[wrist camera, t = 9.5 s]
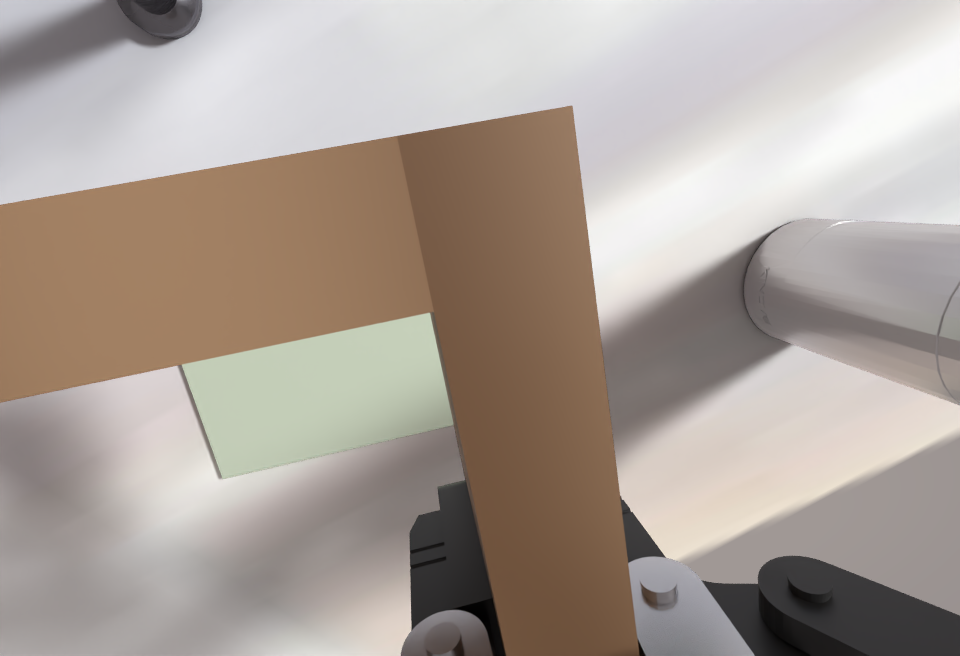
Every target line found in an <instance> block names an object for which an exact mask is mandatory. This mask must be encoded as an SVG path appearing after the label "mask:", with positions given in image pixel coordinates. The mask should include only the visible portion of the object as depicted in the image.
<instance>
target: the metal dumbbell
mask: <svg viewBox="0 0 960 656" xmlns="http://www.w3.org/2000/svg"><path fill="white" fill-rule="evenodd" d="M117 1H118V4H119V5H120V7H121V9H122V10H123V12H124V13H125V14H126V16H127V17H128V18H129V19H130V20H131V21H132V22H134V23H135V24H136V25H138V26H139V27H141V28H142V29H144V30H145V31H147V32H148V33H150V34H152V35H154V36H157V37H160V38H165V39H176V38H180V37H183V36H185V35H187V34H189V33H190V32H191V31H192V30H193V29H194V28H195V27H196V25H197V24H198V22H199V20H200V17H201V12H202V0H117Z"/></svg>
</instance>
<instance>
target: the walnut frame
mask: <svg viewBox="0 0 960 656" xmlns="http://www.w3.org/2000/svg"><path fill="white" fill-rule="evenodd" d="M426 313H430V315H431V320H432V325H433V330H434V334H435V339H436V344H437V348H438V353H439V358H440V362H441V367H442V372H443V377H444V381H445V386H446V391H447V395H448V400H449V405H450V410H451V414H452V419H453V424H454V428H455V433H456V438H457V442H458V447H459V452H460V457H461V461H462V466H463V471H464V475H465V480H466V483H467V487H468V492H469V496H470V501H471V505H472V510H473V514H474V518H475V523H476V527H477V532H478V536H479V540H480V545H481V549H482V554H483V558H484V563H485V567H486V571H487V576H488V580H489V585H490V589H491V593H492V598H493V603H494V607H495V612H496V617H497V621H498V626H499V631H500V636H501V640H502V645H503V650H504V655H505V656H639V647H638V639H637V631H636V623H635V615H634V607H633V598H632V590H631V582H630V574H629V566H628V557H627V549H626V541H625V533H624V525H623V516H622V508H621V500H620V492H619V484H618V476H617V467H616V459H615V451H614V443H613V435H612V426H611V418H610V410H609V402H608V394H607V386H606V377H605V369H604V361H603V353H602V345H601V336H600V328H599V320H598V312H597V304H596V295H595V287H594V279H593V271H592V263H591V255H590V246H589V238H588V230H587V222H586V214H585V205H584V197H583V189H582V181H581V173H580V164H579V156H578V148H577V140H576V132H575V124H574V115H573V107H572V106H567V107H562V108H556V109H550V110H544V111H538V112H533V113H527V114H521V115H515V116H510V117H504V118H498V119H492V120H487V121H481V122H475V123H469V124H464V125H458V126H452V127H446V128H441V129H435V130H429V131H423V132H418V133H412V134H406V135H400V136H394V137H389V138H383V139H377V140H371V141H366V142H360V143H354V144H348V145H343V146H337V147H331V148H325V149H320V150H314V151H308V152H302V153H297V154H291V155H285V156H279V157H273V158H268V159H262V160H256V161H250V162H245V163H239V164H233V165H227V166H222V167H216V168H210V169H204V170H199V171H193V172H187V173H181V174H176V175H170V176H164V177H158V178H153V179H147V180H141V181H135V182H129V183H124V184H118V185H112V186H106V187H101V188H95V189H89V190H83V191H78V192H72V193H66V194H60V195H55V196H49V197H43V198H37V199H32V200H26V201H20V202H14V203H8V204H3V205H0V403H1V402H5V401H10V400H15V399H20V398H25V397H29V396H34V395H39V394H44V393H48V392H53V391H58V390H63V389H68V388H72V387H77V386H82V385H87V384H91V383H96V382H101V381H106V380H111V379H115V378H120V377H125V376H130V375H134V374H139V373H144V372H149V371H154V370H158V369H163V368H168V367H173V366H177V365H182V364H187V363H192V362H197V361H201V360H206V359H211V358H216V357H220V356H225V355H230V354H235V353H240V352H244V351H249V350H254V349H259V348H263V347H268V346H273V345H278V344H283V343H287V342H292V341H297V340H302V339H306V338H311V337H316V336H321V335H326V334H330V333H335V332H340V331H345V330H349V329H354V328H359V327H364V326H369V325H373V324H378V323H383V322H388V321H392V320H397V319H402V318H407V317H412V316H416V315H421V314H426Z"/></svg>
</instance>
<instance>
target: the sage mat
mask: <svg viewBox="0 0 960 656" xmlns="http://www.w3.org/2000/svg"><path fill="white" fill-rule="evenodd" d="M182 367H183V370H184V373H185V376H186V378H187V381H188V384H189V387H190V390H191V392H192V395H193V398H194V401H195V403H196V406H197V409H198V412H199V415H200V417H201V420H202V423H203V426H204V428H205V431H206V434H207V437H208V439H209V442H210V445H211V448H212V451H213V453H214V456H215V459H216V462H217V464H218V467H219V470H220V473H221V476H222V478H223V479H226V478H230V477H235V476H239V475H243V474H247V473H252V472H256V471H260V470H265V469H269V468H273V467H277V466H282V465H286V464H290V463H295V462H299V461H303V460H307V459H312V458H316V457H320V456H325V455H329V454H333V453H337V452H342V451H346V450H350V449H355V448H359V447H363V446H367V445H372V444H376V443H380V442H385V441H389V440H393V439H397V438H402V437H406V436H410V435H414V434H419V433H423V432H427V431H432V430H436V429H440V428H444V427H449V426H453V425H454V424H453V419H452V414H451V410H450V405H449V400H448V395H447V391H446V386H445V381H444V377H443V372H442V367H441V362H440V358H439V353H438V348H437V344H436V339H435V334H434V330H433V325H432V320H431V315H430V313H426V314H421V315H416V316H412V317H407V318H402V319H397V320H392V321H388V322H383V323H378V324H373V325H369V326H364V327H359V328H354V329H349V330H345V331H340V332H335V333H330V334H326V335H321V336H316V337H311V338H306V339H302V340H297V341H292V342H287V343H283V344H278V345H273V346H268V347H263V348H259V349H254V350H249V351H244V352H240V353H235V354H230V355H225V356H220V357H216V358H211V359H206V360H201V361H197V362H192V363H187V364H182Z"/></svg>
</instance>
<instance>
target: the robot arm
mask: <svg viewBox="0 0 960 656" xmlns="http://www.w3.org/2000/svg"><path fill="white" fill-rule="evenodd" d="M744 298H745V305H746V308H747V311H748V313H749V316H750V317H751V319H752V320H753V322H754V323H755V325H756V326H757V327H758V328H759V329H761V330H762V331H763V332H764V333H766V334H768V335H770V336H772V337H774V338H777V339H780V340H782V341H785V342H788V343H791V344H793V345H796V346H799V347H802V348H804V349H807V350H810V351H812V352H815V353H817V354H820V355H823V356H826V357H828V358H831V359H834V360H837V361H839V362H842V363H845V364H848V365H850V366H853V367H856V368H859V369H861V370H864V371H867V372H870V373H872V374H875V375H878V376H881V377H883V378H886V379H889V380H892V381H894V382H897V383H900V384H903V385H905V386H908V387H911V388H914V389H916V390H919V391H922V392H925V393H927V394H930V395H933V396H936V397H938V398H941V399H944V400H947V401H949V402H952V403H955V404H958V405H960V225H945V224H922V223H899V222H875V221H858V220H830V219H802V220H797V221H793V222H791V223H788V224H786V225H784V226H782V227H780V228H779V229H777V230H776V231H774V232H773V233H772V234H770V235H769V236H768V237H767V238H766V240H765V241H764V242H763V243H762V244H761V245H760V246H759V248H758V249H757V251H756V252H755V254H754V255H753V257H752V260H751V262H750V264H749V266H748V269H747V273H746V277H745V282H744ZM438 495H439V504H440V510H439V511H435V512H431V513H427V514H423V515H419V516H418V518H417V520H416V522H415V523H414V525H413V527H412V529H411V531H410V566H411V569H410V575H411V620H412V630H411V632H410V633H409V635H408V637H407V638H406V640H405V642H404V645H403V647H402V651H401V656H505V655H504V650H503V645H502V640H501V636H500V631H499V626H498V621H497V617H496V612H495V607H494V603H493V598H492V593H491V589H490V585H489V580H488V576H487V571H486V567H485V563H484V558H483V554H482V549H481V545H480V540H479V536H478V532H477V527H476V523H475V518H474V514H473V510H472V505H471V501H470V496H469V492H468V487H467V483H466V480H464V481H460V482H456V483H452V484H448V485H444V486H440V487H438ZM620 500H621V508H622V516H623V525H624V533H625V541H626V549H627V557H628V566H629V574H630V582H631V590H632V598H633V607H634V615H635V623H636V631H637V639H638V647H639V656H960V616H959V615H957V614H954V613H952V612H949V611H947V610H944V609H942V608H939V607H936V606H934V605H932V604H929V603H927V602H924V601H922V600H919V599H917V598H914V597H911V596H909V595H906V594H904V593H901V592H899V591H896V590H894V589H891V588H889V587H886V586H884V585H881V584H879V583H876V582H874V581H871V580H869V579H866V578H863V577H861V576H859V575H856V574H854V573H851V572H849V571H846V570H843V569H841V568H838V567H836V566H833V565H831V564H828V563H826V562H823V561H820V560H817V559H813V558H809V557H802V556H783V557H778V558H775V559H773V560H770V561H769V562H767V563H766V564H765V565H763V566H762V568H761V569H760V571H759V575H758V584H722V583H712V582H706V581H702V580H701V579H700V578H699V577H698V576H697V574H696V573H695V572H694V571H693V570H691V569H690V568H689V567H687V566H686V565H684V564H682V563H680V562H678V561H675V560H672V559H669V558H666V557H665V556H664V554H663V553H662V552H661V550H660V549H659V548H658V546H657V545H656V544H655V542H654V541H653V540H652V538H651V537H650V535H649V534H648V533H647V531H646V530H645V529H644V527H643V526H642V525H641V523H640V522H639V521H638V519H637V518H636V516H635V515H634V514H633V512H631V511H630V508H629V507H628V506H627V504H626V503H625V502H624V500H622V499H621V496H620Z"/></svg>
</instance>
